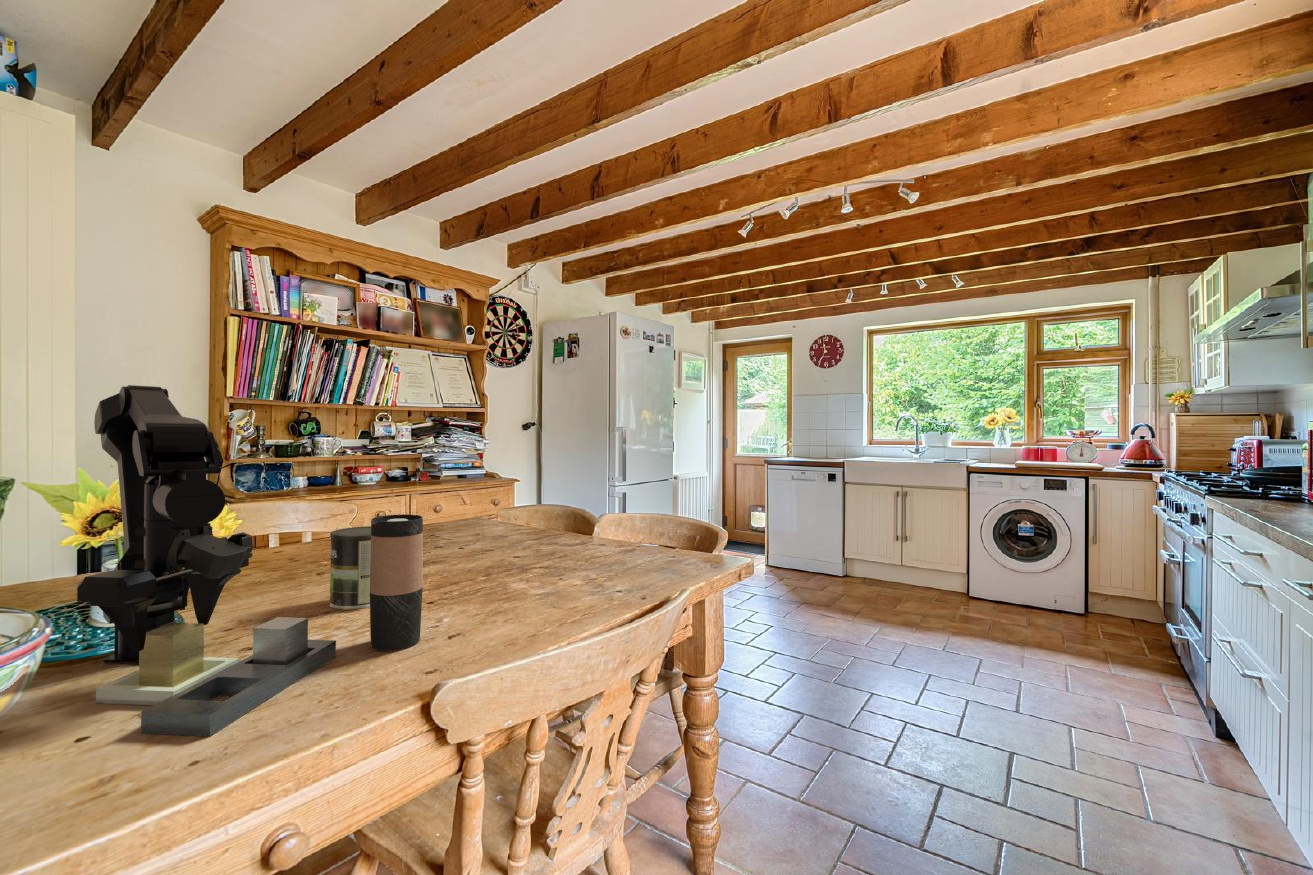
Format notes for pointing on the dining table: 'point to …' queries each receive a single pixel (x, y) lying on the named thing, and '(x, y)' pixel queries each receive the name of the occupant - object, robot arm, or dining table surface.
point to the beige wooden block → (172, 655)
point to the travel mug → (396, 581)
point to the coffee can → (350, 568)
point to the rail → (230, 694)
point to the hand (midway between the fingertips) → (172, 636)
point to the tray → (132, 693)
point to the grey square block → (280, 641)
